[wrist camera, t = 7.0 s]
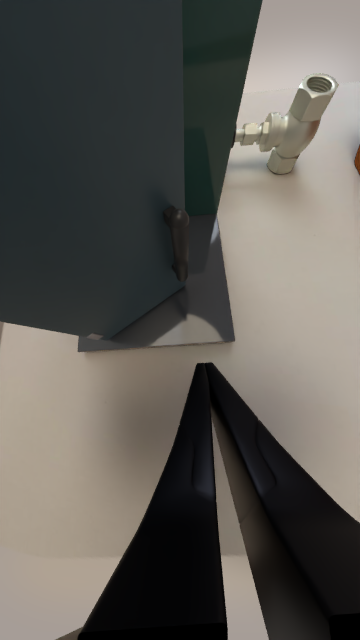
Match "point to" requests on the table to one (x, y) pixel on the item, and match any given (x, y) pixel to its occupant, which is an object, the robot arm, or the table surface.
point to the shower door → (90, 162)
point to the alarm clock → (358, 160)
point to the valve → (291, 124)
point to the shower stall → (201, 176)
